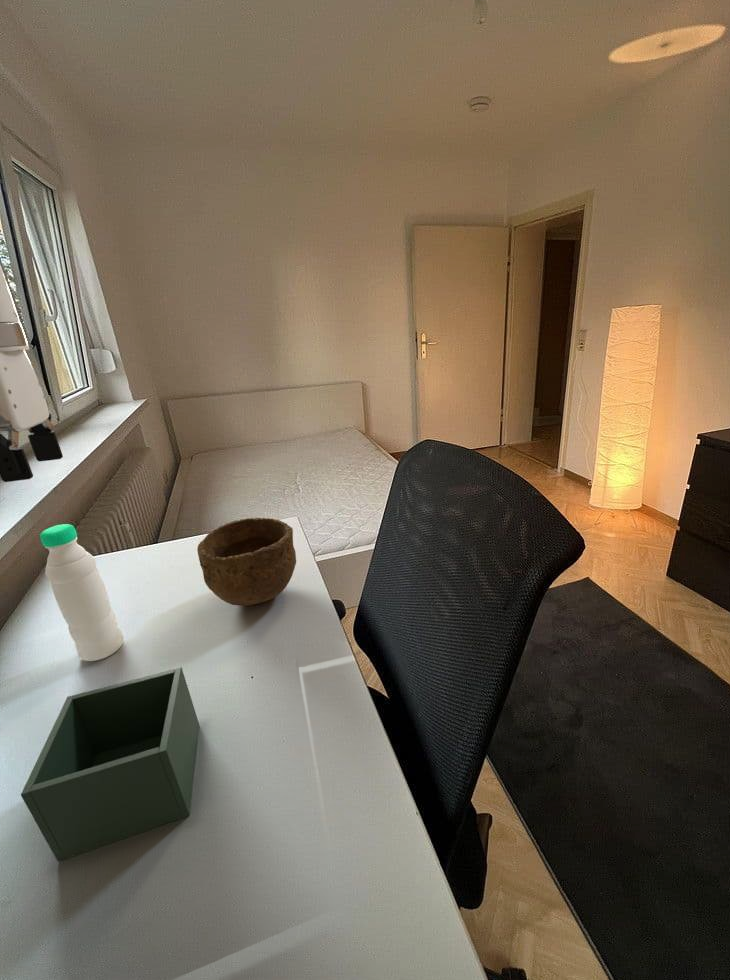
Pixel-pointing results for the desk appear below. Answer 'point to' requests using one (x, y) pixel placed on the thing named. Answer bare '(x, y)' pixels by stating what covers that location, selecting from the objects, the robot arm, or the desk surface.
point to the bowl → (248, 560)
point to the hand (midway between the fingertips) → (35, 469)
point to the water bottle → (80, 594)
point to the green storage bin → (115, 764)
